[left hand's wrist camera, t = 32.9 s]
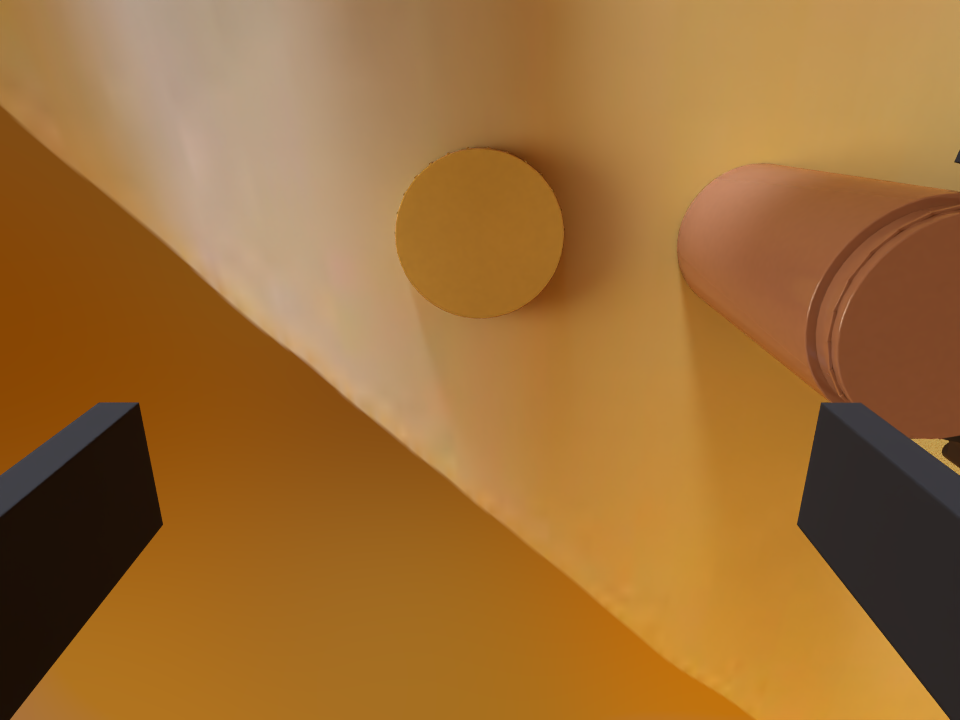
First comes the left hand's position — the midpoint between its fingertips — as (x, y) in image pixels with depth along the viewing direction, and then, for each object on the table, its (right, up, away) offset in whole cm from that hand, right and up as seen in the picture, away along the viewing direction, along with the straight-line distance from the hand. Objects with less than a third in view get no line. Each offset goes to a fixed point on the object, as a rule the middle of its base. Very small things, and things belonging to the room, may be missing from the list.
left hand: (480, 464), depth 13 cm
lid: (0, +10, +27) cm, 28 cm away
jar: (+17, +10, +28) cm, 34 cm away
